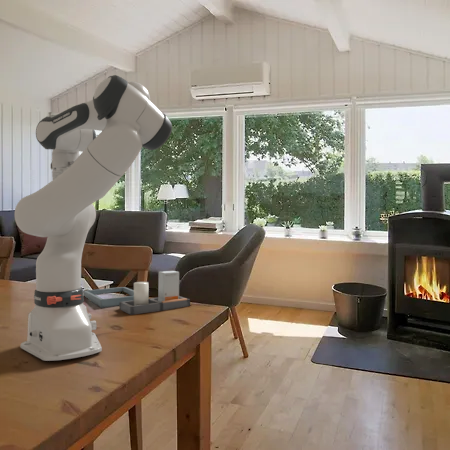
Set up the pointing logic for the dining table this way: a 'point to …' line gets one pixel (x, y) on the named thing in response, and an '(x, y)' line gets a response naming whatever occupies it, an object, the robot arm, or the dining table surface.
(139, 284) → the ceramic jar
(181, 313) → the dining table surface
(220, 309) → the dining table surface
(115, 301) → the slate tray
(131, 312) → the slot holder
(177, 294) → the skincare box
